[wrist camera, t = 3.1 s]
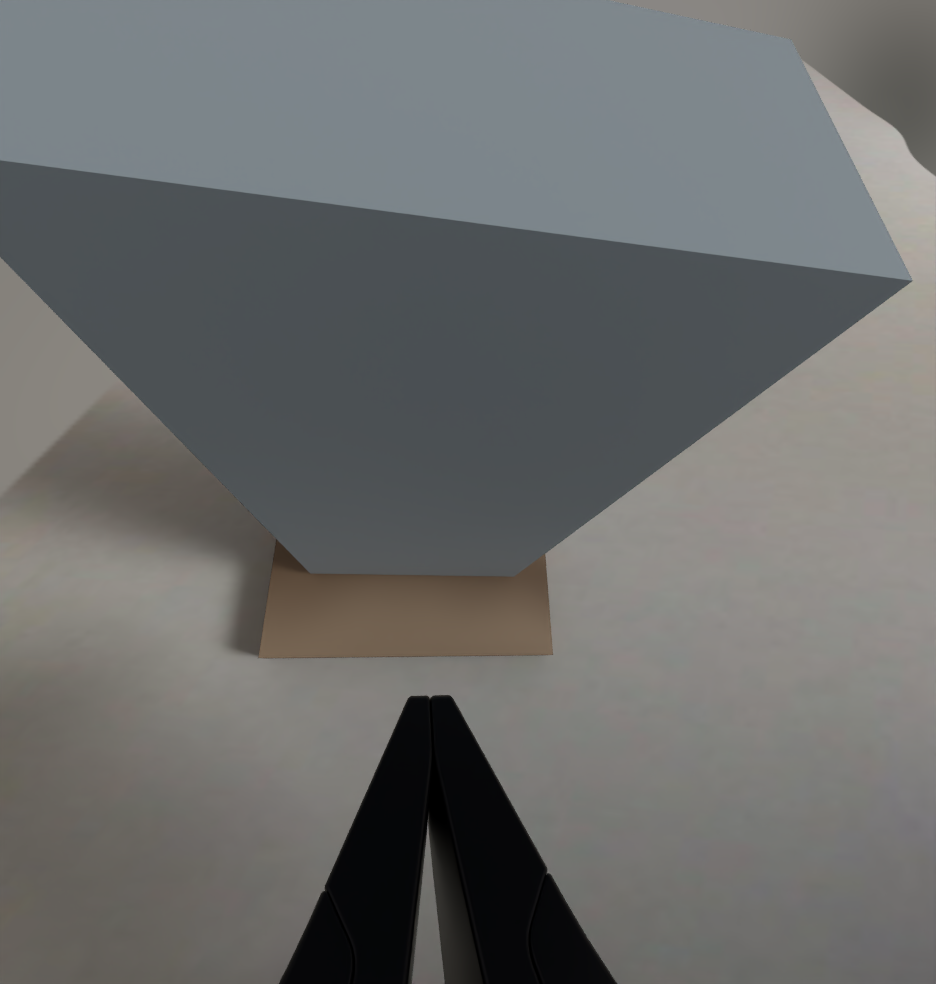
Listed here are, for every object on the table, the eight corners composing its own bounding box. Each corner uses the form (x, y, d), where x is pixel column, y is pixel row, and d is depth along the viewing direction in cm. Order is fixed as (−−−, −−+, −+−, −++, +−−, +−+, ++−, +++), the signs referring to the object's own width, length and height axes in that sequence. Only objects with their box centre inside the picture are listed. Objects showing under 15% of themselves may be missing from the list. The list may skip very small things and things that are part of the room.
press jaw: (514, 576, 18) (913, 280, 4) (310, 573, 17) (-108, 146, 3) (509, 485, 19) (791, 39, 5) (321, 477, 18) (79, -113, 4)
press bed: (543, 655, 18) (626, 650, 12) (267, 658, 17) (182, 655, 10) (517, 291, 26) (560, 161, 19) (323, 269, 24) (295, 119, 17)
